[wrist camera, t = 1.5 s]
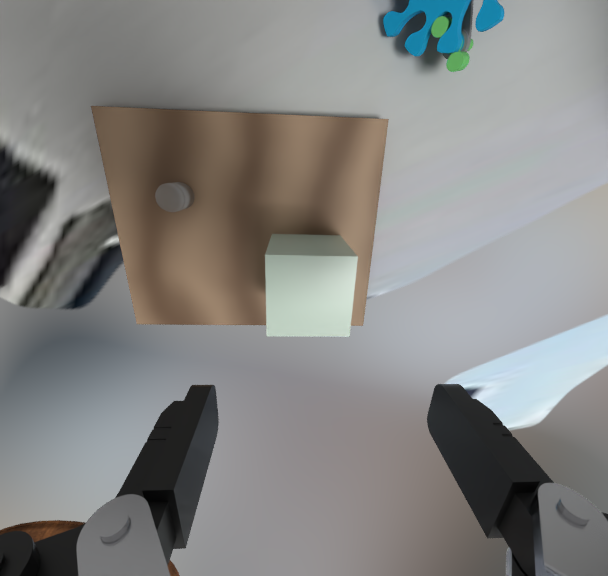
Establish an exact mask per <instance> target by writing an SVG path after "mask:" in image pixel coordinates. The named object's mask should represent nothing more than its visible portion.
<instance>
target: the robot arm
mask: <svg viewBox="0 0 608 576" xmlns="http://www.w3.org/2000/svg"><path fill="white" fill-rule="evenodd" d="M427 423H428V428H429V431H430V434H431V436H432V437H433V440H434V441H435V443H436V445H437V447H438V448H439V450H440V452H441V454H442V456H443V458H444V460H445V461H446V463H447V465H448V467H449V469H450V470H451V472H452V474H453V476H454V478H455V480H456V481H457V483H458V485H459V487H460V489H461V491H462V493H463V494H464V496H465V498H466V500H467V502H468V504H469V505H470V507H471V509H472V511H473V513H474V515H475V516H476V518H477V520H478V522H479V524H480V526H481V527H482V529H483V531H484V533H485V535H486V536H487V538H504V539H505V541H506V542H507V544H508V546H509V548H508V550H507V554H506V576H608V514H606V513H602V512H600V510H599V509H598V508H597V507H596V506H595V505H594V504H593V503H591V502H590V501H589V500H588V499H586V498H585V497H584V496H582V495H581V494H579V493H577V492H576V491H574V490H572V489H570V488H568V487H566V486H563V485H560V484H556V483H554V482H553V481H552V480H551V479H550V478H549V476H548V475H547V474H546V473H545V472H544V471H543V470H542V468H541V467H540V466H539V465H538V464H537V463H536V461H535V460H534V459H533V458H532V457H531V456H530V455H529V453H528V452H527V451H526V450H525V449H524V448H523V446H522V445H521V444H520V443H519V442H518V440H517V439H516V438H515V437H513V436H512V434H511V432H510V431H509V430H508V429H507V428H506V427H505V426H503V424H502V422H501V421H500V420H499V418H498V417H497V416H496V415H495V414H494V413H493V411H492V410H491V409H489V408H488V407H486V406H485V405H484V404H482V403H481V402H480V401H478V400H477V399H472V398H471V397H470V395H469V394H468V393H467V392H466V390H465V389H464V388H463V387H462V386H461V385H459V384H438V385H436V386H435V388H434V392H433V396H432V400H431V404H430V408H429V412H428V416H427ZM217 431H218V409H217V399H216V390H215V386H214V385H192V386H191V387H190V389H189V391H188V393H187V396H186V397H185V400H184V401H174V402H173V403H172V404H170V406H168V407H167V408H166V409H165V410H164V411H163V412H162V413H161V415H160V417H159V419H158V421H157V422H156V424H155V426H154V430H152V432H151V434H150V436H149V437H148V440H147V442H146V443H145V445H144V447H143V448H142V450H141V452H140V454H139V456H138V458H137V460H136V461H135V464H134V465H133V467H132V469H131V471H130V473H129V474H128V476H127V478H126V480H125V482H124V484H123V486H122V488H121V489H120V491H119V493H118V494H117V496H116V498H115V499H113V500H111V501H109V502H107V503H106V504H105V505H103V506H102V507H101V508H99V509H98V510H97V511H96V512H95V513H94V514H93V515H92V516H91V517H90V518H89V520H88V521H87V522H86V523H85V524H83V525H81V526H78V527H76V528H74V529H71V530H68V531H65V532H62V533H59V534H56V535H54V536H51V537H48V538H45V539H42V540H39V541H37V542H34V541H33V539H32V537H31V536H30V535H29V534H28V533H26V532H23V531H12V532H7V533H4V534H1V535H0V576H170V573H169V570H168V563H169V560H170V557H171V554H172V550H173V549H180V548H186V545H187V541H188V538H189V534H190V530H191V527H192V523H193V520H194V516H195V512H196V509H197V505H198V502H199V498H200V494H201V491H202V487H203V484H204V480H205V476H206V473H207V469H208V465H209V462H210V458H211V455H212V451H213V448H214V444H215V440H216V437H217Z"/></svg>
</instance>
